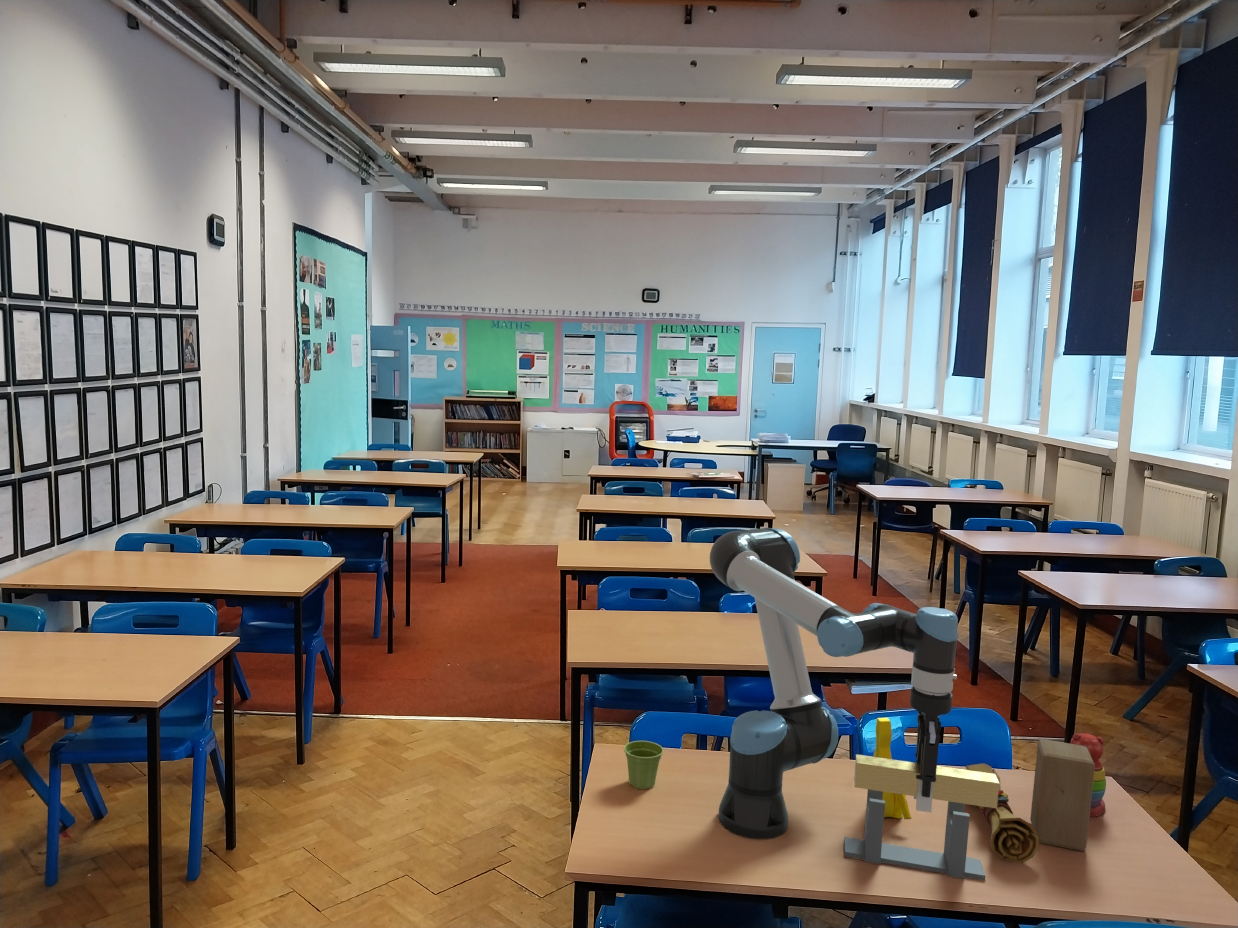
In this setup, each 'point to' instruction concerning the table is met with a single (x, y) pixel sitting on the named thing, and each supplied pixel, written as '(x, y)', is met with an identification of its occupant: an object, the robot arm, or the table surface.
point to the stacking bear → (1099, 773)
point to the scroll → (1008, 827)
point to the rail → (947, 786)
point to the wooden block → (1062, 794)
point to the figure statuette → (893, 801)
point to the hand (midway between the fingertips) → (922, 804)
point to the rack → (945, 862)
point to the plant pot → (642, 763)
